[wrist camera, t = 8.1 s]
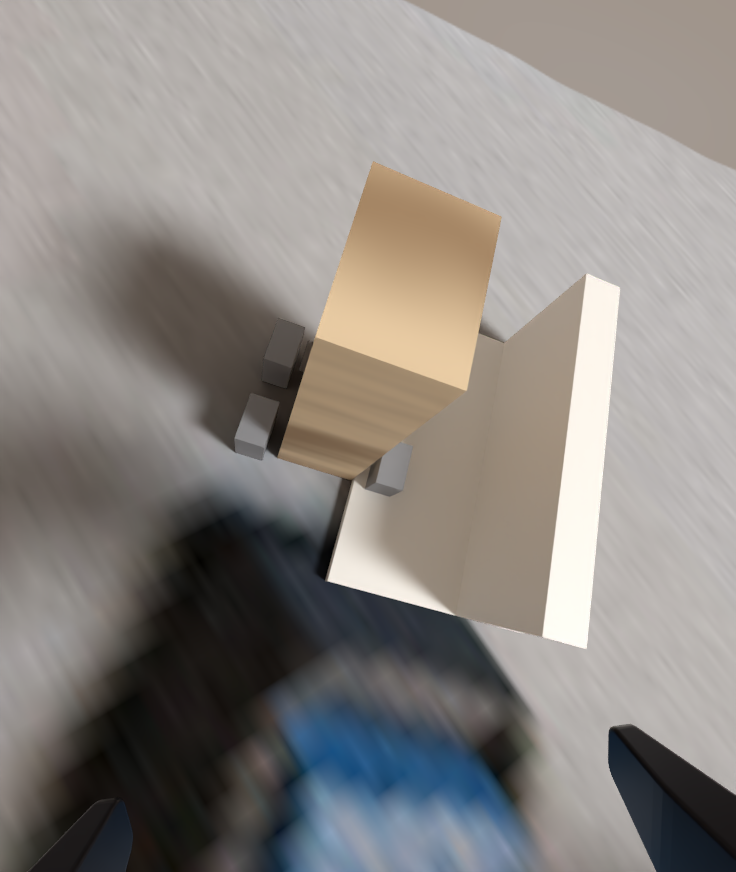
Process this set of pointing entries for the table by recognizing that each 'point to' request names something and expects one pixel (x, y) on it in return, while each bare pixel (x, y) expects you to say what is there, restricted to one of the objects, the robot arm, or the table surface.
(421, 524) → the cream board with pegs
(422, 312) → the wooden building block
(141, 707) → the table surface
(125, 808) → the robot arm
